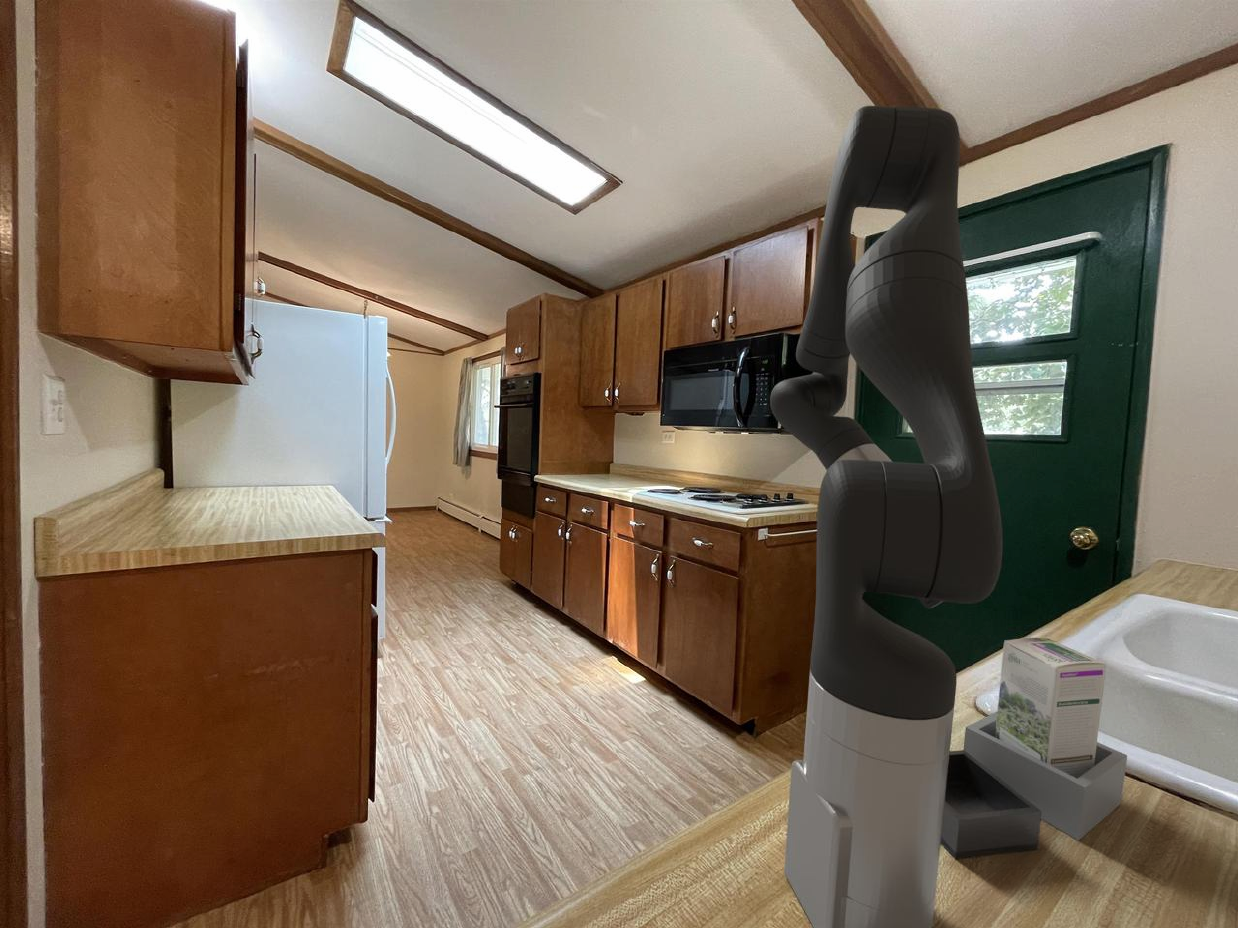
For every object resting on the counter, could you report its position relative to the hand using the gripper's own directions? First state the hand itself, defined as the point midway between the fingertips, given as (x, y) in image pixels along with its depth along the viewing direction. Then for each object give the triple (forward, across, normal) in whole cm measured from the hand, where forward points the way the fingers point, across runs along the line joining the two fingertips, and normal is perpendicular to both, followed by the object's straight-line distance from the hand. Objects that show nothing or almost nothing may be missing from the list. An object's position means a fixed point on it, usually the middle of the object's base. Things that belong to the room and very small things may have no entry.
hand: (957, 599), depth 57 cm
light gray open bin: (+18, 0, +5) cm, 19 cm away
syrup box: (+18, 0, +5) cm, 19 cm away
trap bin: (+17, -12, +6) cm, 22 cm away
